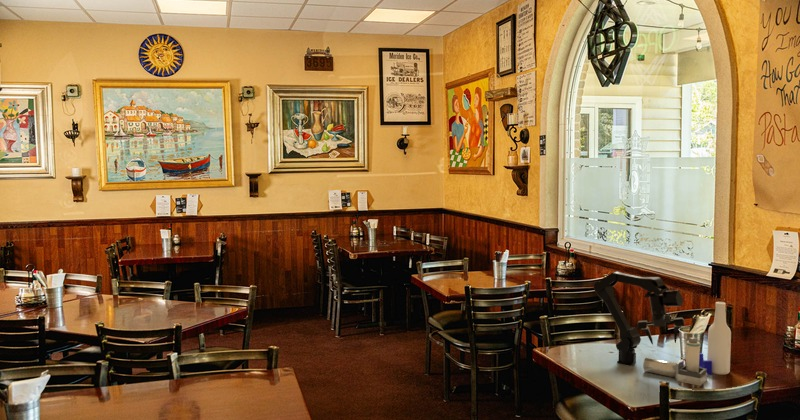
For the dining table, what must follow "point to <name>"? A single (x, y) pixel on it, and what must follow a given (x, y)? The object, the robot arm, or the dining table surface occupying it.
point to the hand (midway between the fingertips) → (663, 343)
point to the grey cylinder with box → (675, 371)
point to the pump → (692, 355)
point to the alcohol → (719, 341)
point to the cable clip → (705, 364)
